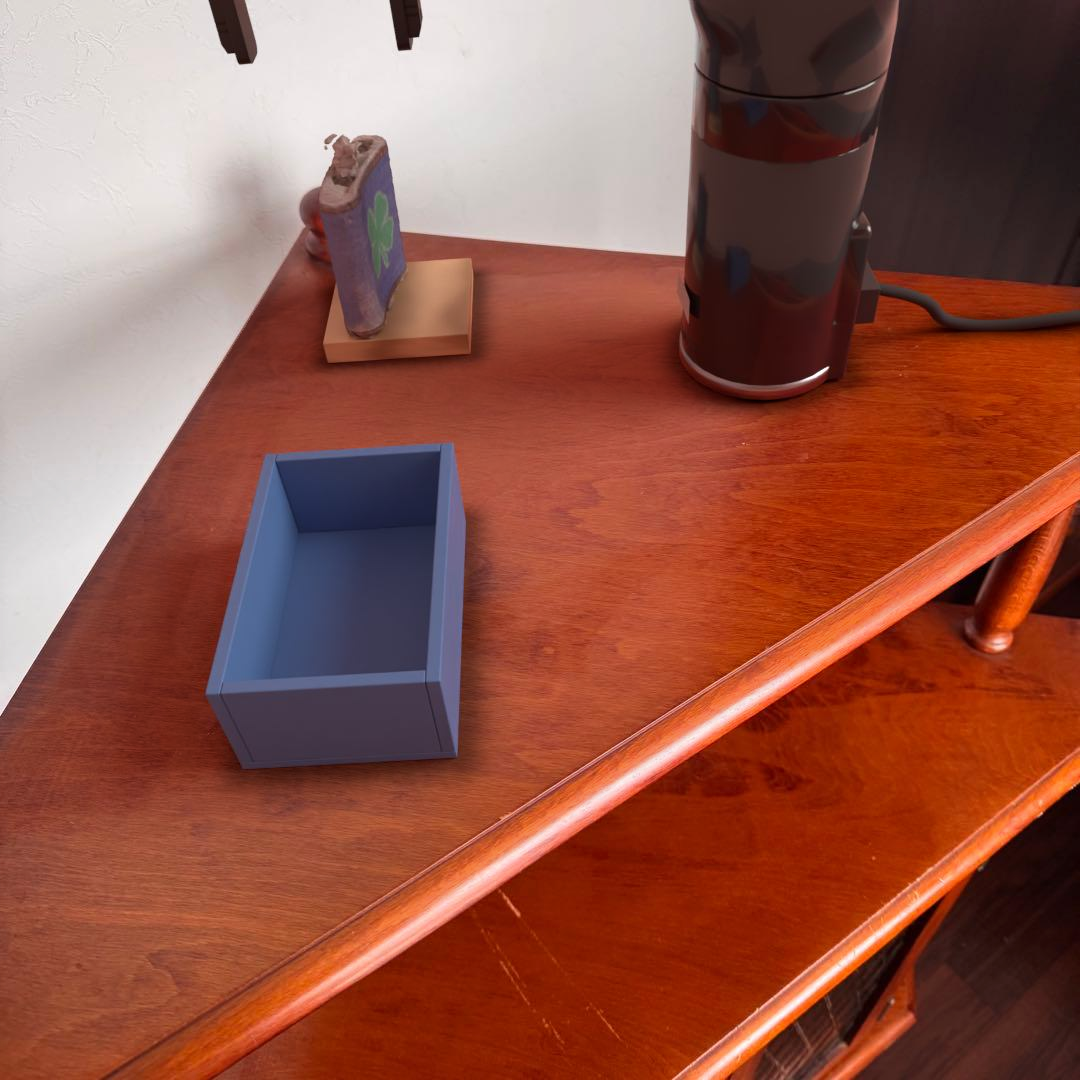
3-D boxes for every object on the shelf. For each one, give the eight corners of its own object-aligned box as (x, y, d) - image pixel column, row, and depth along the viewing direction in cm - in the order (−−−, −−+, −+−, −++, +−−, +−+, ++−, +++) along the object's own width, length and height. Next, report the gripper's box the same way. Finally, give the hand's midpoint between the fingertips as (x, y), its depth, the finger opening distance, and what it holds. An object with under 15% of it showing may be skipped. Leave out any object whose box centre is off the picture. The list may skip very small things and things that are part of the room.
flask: (380, 341, 62) (345, 174, 54) (334, 340, 62) (293, 174, 55) (413, 262, 68) (386, 102, 61) (371, 261, 69) (339, 103, 61)
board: (473, 276, 69) (471, 257, 68) (470, 354, 63) (467, 334, 62) (343, 285, 70) (339, 266, 68) (327, 363, 63) (322, 343, 62)
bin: (466, 522, 53) (453, 441, 49) (457, 757, 43) (440, 680, 39) (291, 532, 53) (264, 453, 49) (242, 769, 43) (204, 694, 39)
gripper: (47, -320, 40) (181, 92, 52) (401, -357, 40) (457, 68, 51) (100, -339, 45) (211, 39, 57) (413, -372, 45) (461, 16, 57)
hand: (327, 52), depth 54 cm, fingers open, 8 cm apart
